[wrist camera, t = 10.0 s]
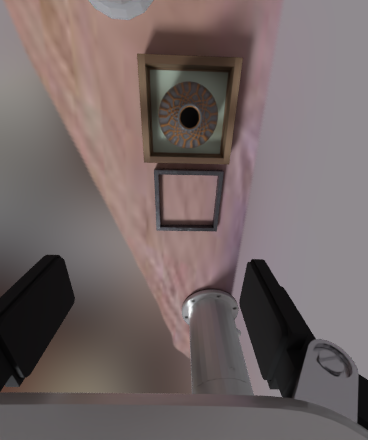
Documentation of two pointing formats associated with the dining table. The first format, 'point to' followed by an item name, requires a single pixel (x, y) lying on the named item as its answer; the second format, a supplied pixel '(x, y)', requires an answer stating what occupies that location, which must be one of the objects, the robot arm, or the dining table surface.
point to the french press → (121, 8)
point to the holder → (195, 72)
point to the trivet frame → (188, 172)
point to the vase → (188, 114)
